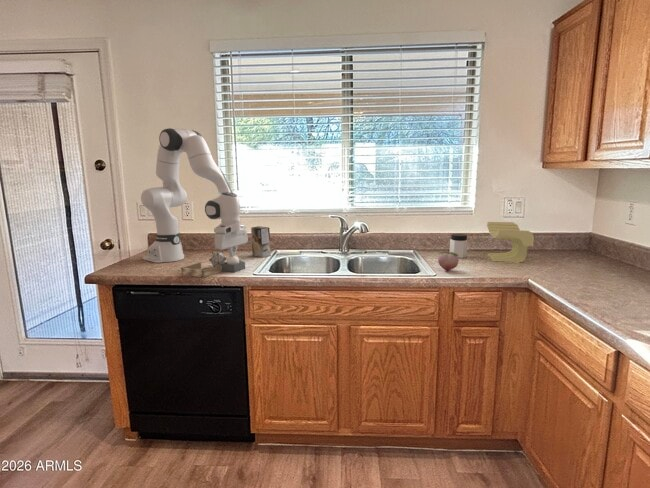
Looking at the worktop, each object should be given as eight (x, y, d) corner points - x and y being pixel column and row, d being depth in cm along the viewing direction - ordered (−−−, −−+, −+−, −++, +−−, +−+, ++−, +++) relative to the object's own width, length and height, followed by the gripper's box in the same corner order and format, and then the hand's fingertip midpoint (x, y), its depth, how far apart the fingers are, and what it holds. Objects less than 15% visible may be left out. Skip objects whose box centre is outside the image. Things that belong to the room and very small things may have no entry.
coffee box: (271, 255, 218) (270, 227, 215) (262, 257, 213) (261, 228, 210) (260, 253, 224) (259, 225, 220) (251, 255, 219) (250, 227, 216)
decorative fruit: (459, 269, 184) (460, 248, 182) (457, 273, 177) (458, 252, 175) (438, 267, 188) (439, 247, 186) (436, 271, 181) (437, 250, 179)
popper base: (221, 270, 186) (221, 263, 185) (232, 266, 193) (232, 260, 192) (234, 272, 183) (234, 265, 182) (245, 268, 190) (244, 261, 189)
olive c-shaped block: (531, 267, 187) (534, 230, 184) (495, 265, 191) (498, 230, 187) (515, 254, 216) (518, 222, 213) (485, 252, 219) (487, 221, 216)
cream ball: (224, 270, 186) (223, 256, 185) (232, 267, 192) (231, 253, 190) (234, 271, 184) (233, 257, 183) (242, 268, 189) (241, 254, 188)
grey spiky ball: (220, 275, 192) (220, 262, 185) (205, 268, 193) (204, 255, 186) (230, 263, 198) (230, 250, 191) (215, 256, 199) (214, 243, 192)
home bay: (181, 274, 180) (181, 267, 180) (200, 268, 191) (199, 262, 190) (203, 277, 174) (203, 271, 174) (221, 271, 185) (221, 265, 184)
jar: (469, 257, 208) (470, 235, 206) (455, 258, 206) (456, 236, 204) (460, 254, 216) (461, 233, 214) (446, 255, 215) (448, 233, 212)
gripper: (239, 223, 194) (241, 250, 197) (211, 229, 176) (213, 259, 179) (250, 224, 192) (251, 251, 194) (222, 230, 174) (223, 260, 176)
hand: (232, 255), depth 186 cm, fingers closed, pressing on cream ball
